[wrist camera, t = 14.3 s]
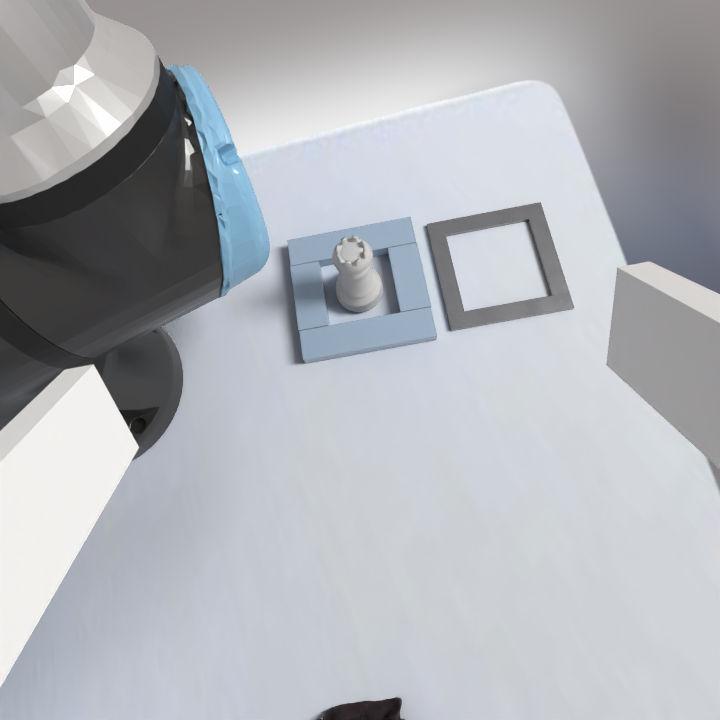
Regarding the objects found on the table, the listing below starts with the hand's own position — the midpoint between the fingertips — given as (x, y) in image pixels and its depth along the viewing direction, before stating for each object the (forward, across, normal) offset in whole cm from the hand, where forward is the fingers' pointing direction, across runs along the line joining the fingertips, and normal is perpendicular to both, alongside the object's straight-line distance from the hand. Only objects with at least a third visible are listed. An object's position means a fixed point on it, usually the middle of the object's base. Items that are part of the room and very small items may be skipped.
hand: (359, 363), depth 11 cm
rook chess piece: (+30, 0, -9) cm, 31 cm away
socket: (+30, 0, -9) cm, 31 cm away
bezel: (+30, +13, -9) cm, 34 cm away
